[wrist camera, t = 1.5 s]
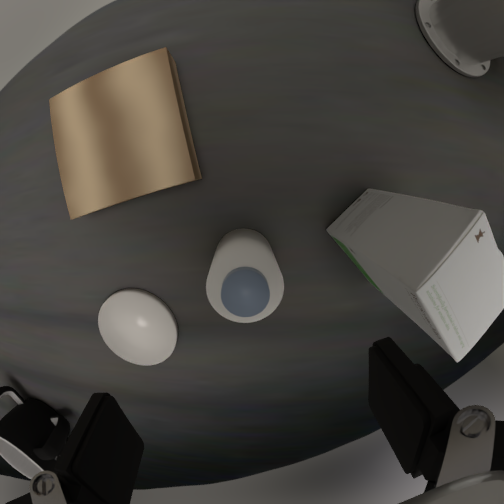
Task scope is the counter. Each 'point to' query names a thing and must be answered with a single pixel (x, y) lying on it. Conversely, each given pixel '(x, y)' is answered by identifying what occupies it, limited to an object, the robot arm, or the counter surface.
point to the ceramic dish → (138, 326)
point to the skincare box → (427, 263)
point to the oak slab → (123, 134)
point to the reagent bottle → (244, 277)
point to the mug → (31, 435)
